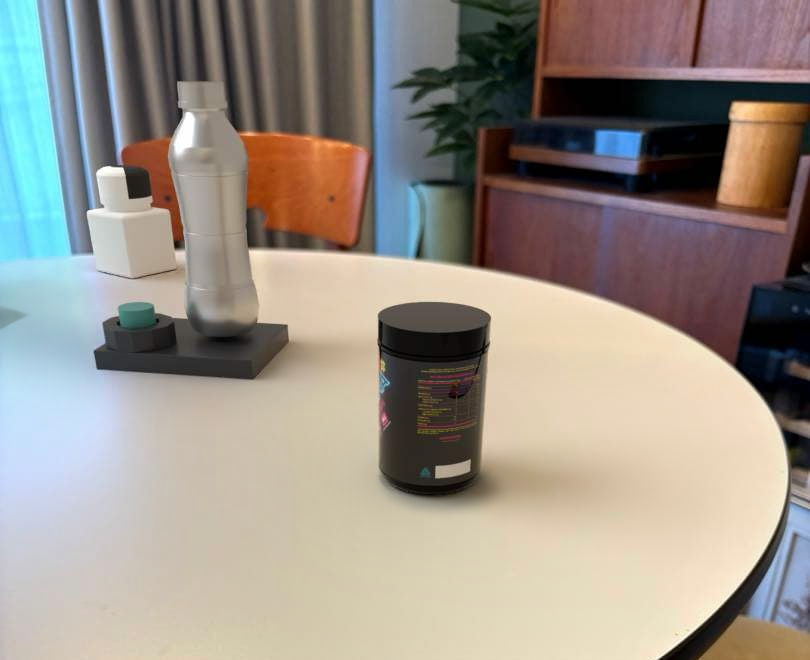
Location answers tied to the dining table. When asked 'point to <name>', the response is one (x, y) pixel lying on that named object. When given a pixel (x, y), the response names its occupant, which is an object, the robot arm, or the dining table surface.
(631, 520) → the dining table surface
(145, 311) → the button
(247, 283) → the silver bottle
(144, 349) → the dark grey button base
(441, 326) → the supplement container
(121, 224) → the medicine bottle
